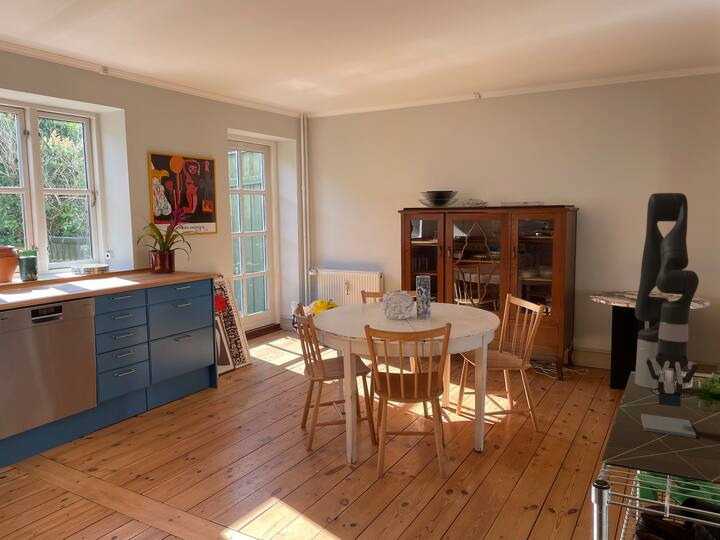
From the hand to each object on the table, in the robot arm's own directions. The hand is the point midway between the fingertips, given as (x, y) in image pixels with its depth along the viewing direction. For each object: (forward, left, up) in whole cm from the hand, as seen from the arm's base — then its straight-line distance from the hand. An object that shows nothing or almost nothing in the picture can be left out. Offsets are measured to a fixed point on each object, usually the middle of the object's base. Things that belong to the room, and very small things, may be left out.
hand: (669, 394), depth 161 cm
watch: (0, 0, -3) cm, 3 cm away
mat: (0, 0, -10) cm, 10 cm away
